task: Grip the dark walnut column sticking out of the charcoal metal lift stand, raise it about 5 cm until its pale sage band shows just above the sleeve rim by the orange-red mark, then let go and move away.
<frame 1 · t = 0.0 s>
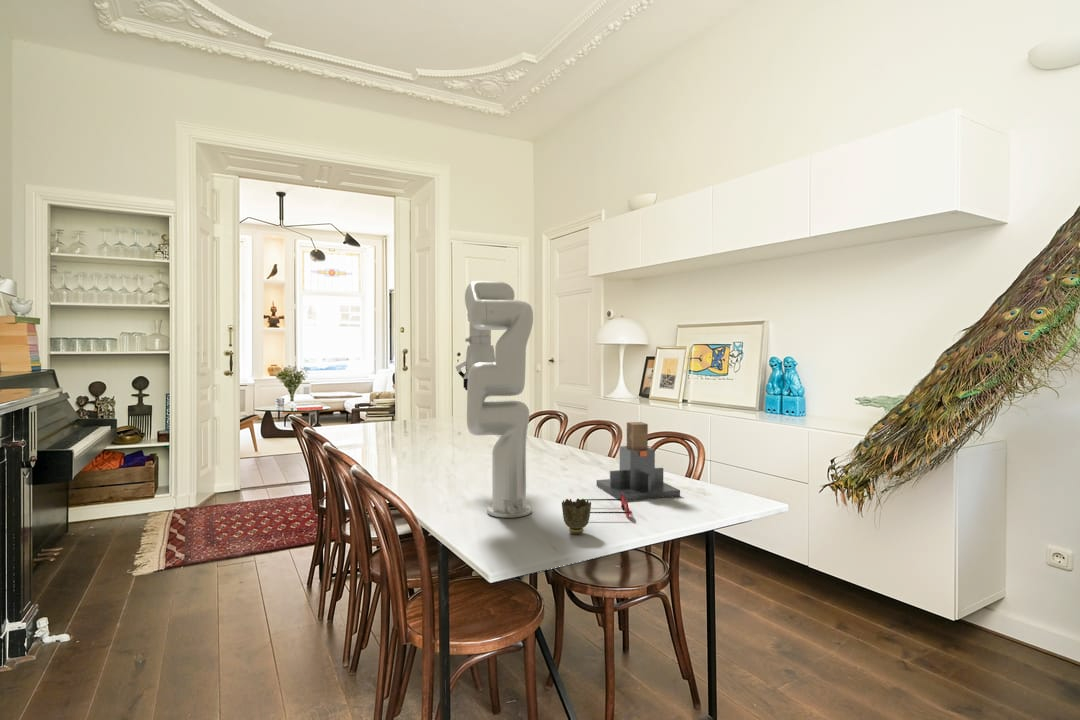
hand: (480, 389, 212), 31 cm above the table, tool pointing down, fingers open, 9 cm apart
column: (636, 452, 194), point 12 cm above the table, slide at 0.0 cm
lift stand: (636, 491, 194), on the table
cup: (576, 534, 151), on the table
glasses: (598, 515, 169), on the table
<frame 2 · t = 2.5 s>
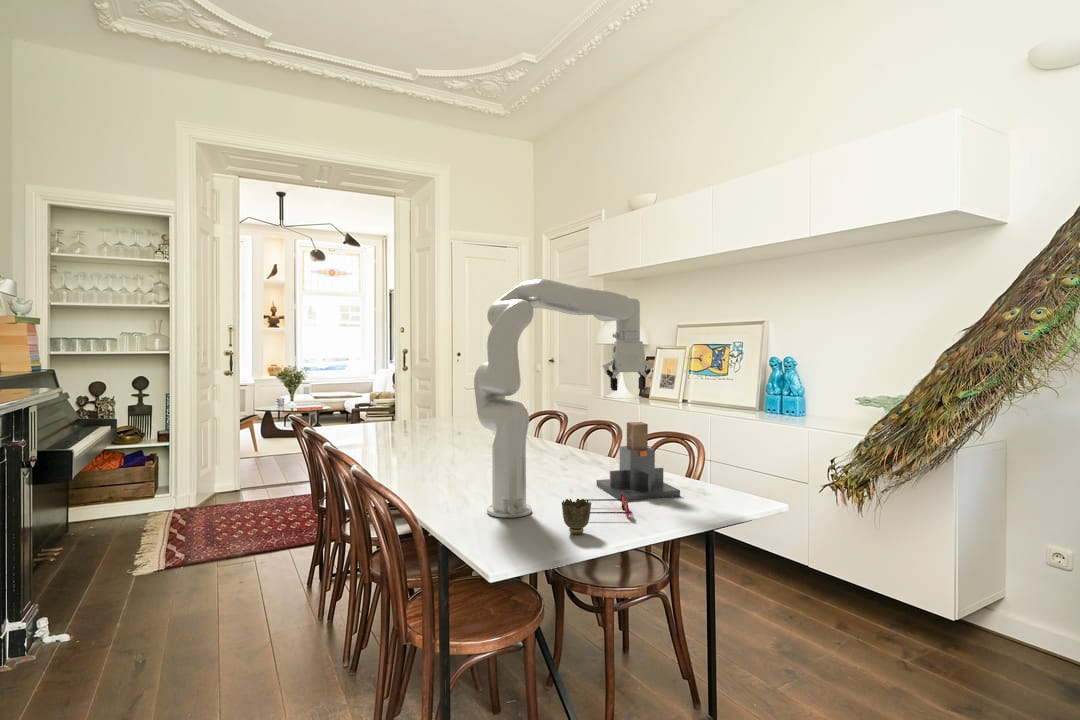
hand: (628, 390, 194), 33 cm above the table, tool pointing down, fingers open, 9 cm apart
nothing on the table moved.
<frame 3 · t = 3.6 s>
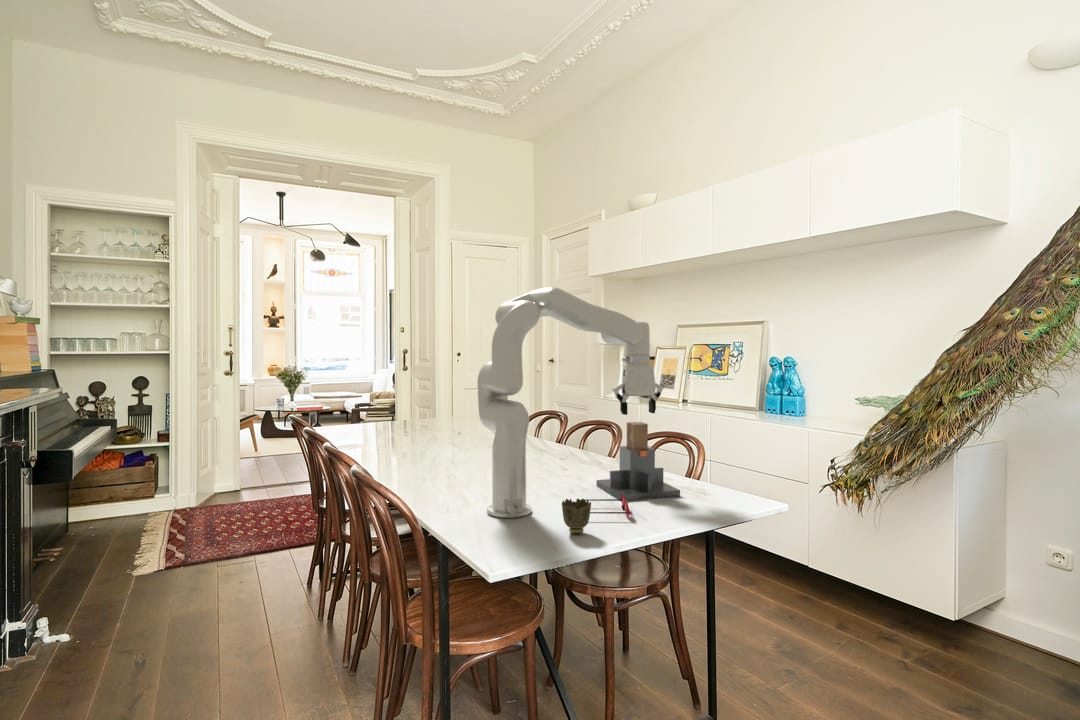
hand: (638, 413, 193), 25 cm above the table, tool pointing down, fingers open, 9 cm apart
nothing on the table moved.
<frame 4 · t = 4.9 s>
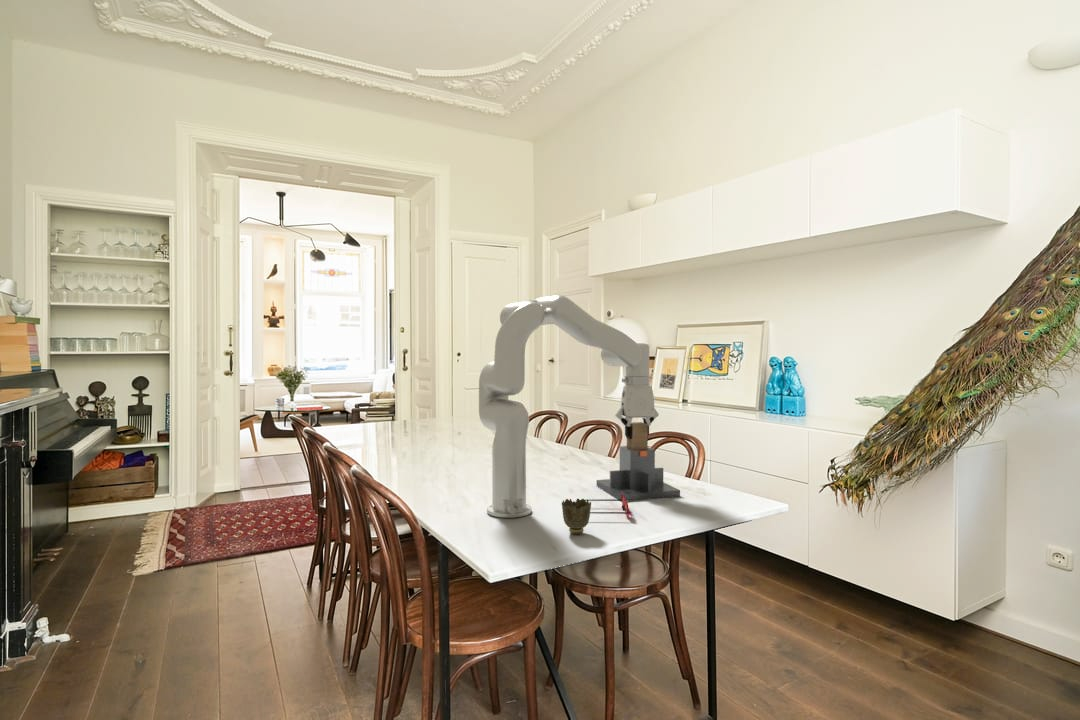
hand: (637, 437, 193), 17 cm above the table, tool pointing down, fingers closed on column, 5 cm apart
column: (636, 452, 194), point 12 cm above the table, slide at 0.0 cm, touching gripper
everything else where it was.
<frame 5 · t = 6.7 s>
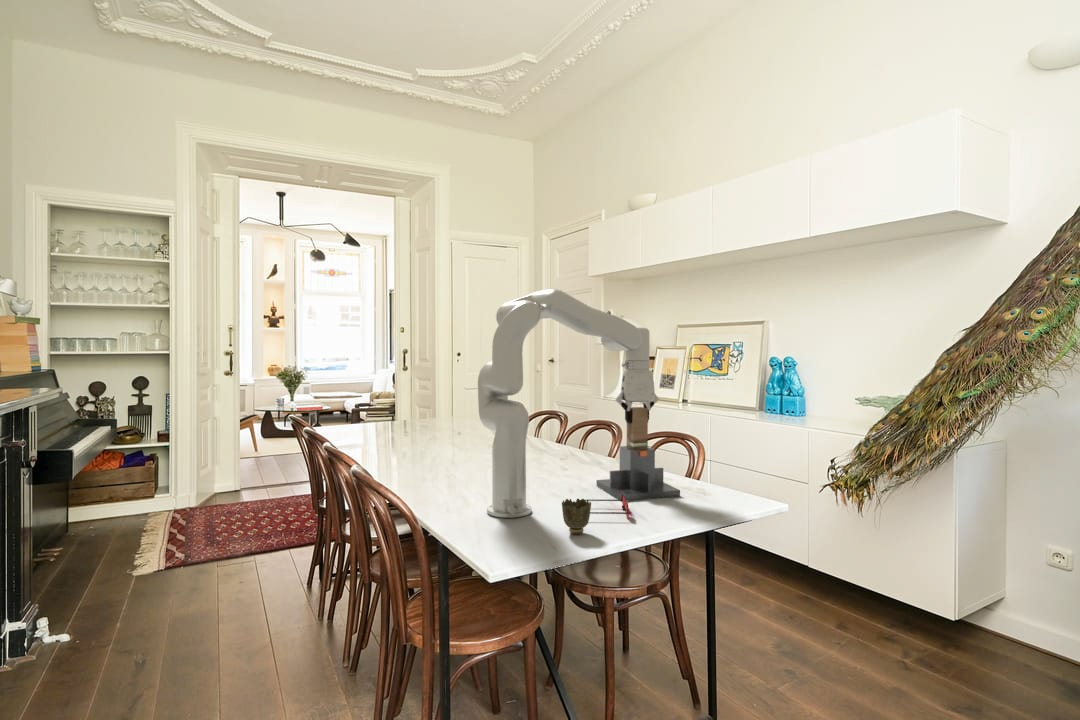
hand: (637, 422, 193), 22 cm above the table, tool pointing down, fingers closed on column, 5 cm apart
column: (637, 437, 193), point 17 cm above the table, slide at 4.9 cm, touching gripper
everything else where it was.
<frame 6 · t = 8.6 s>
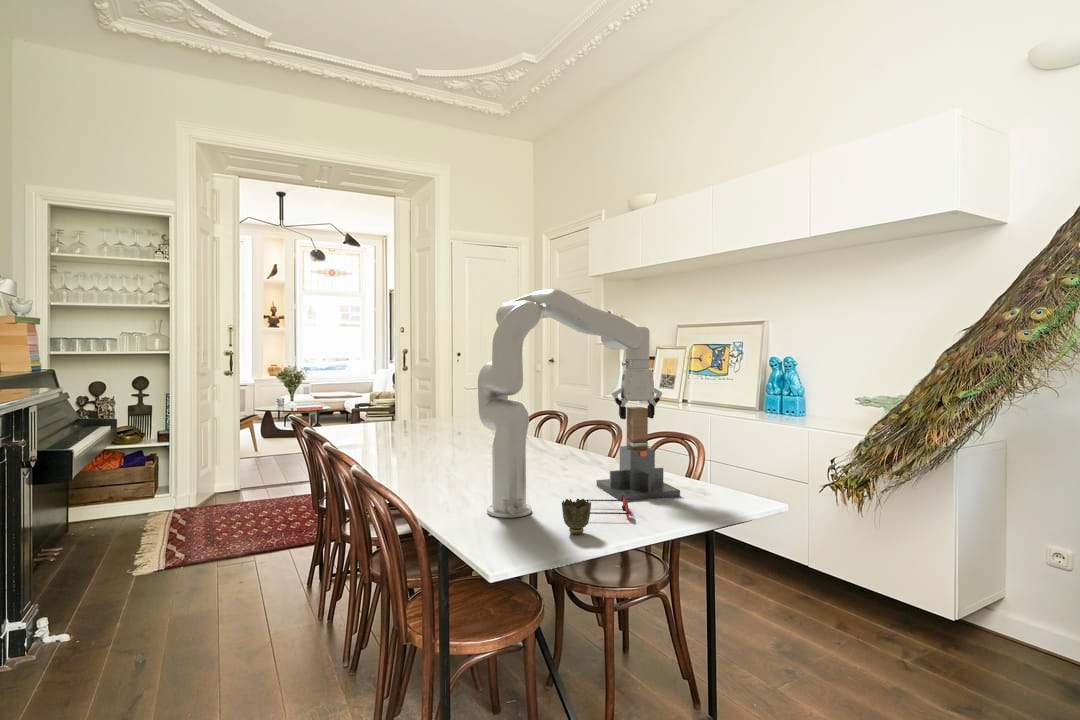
hand: (636, 418, 193), 24 cm above the table, tool pointing down, fingers open, 9 cm apart
column: (637, 437, 193), point 17 cm above the table, slide at 5.0 cm
everything else where it was.
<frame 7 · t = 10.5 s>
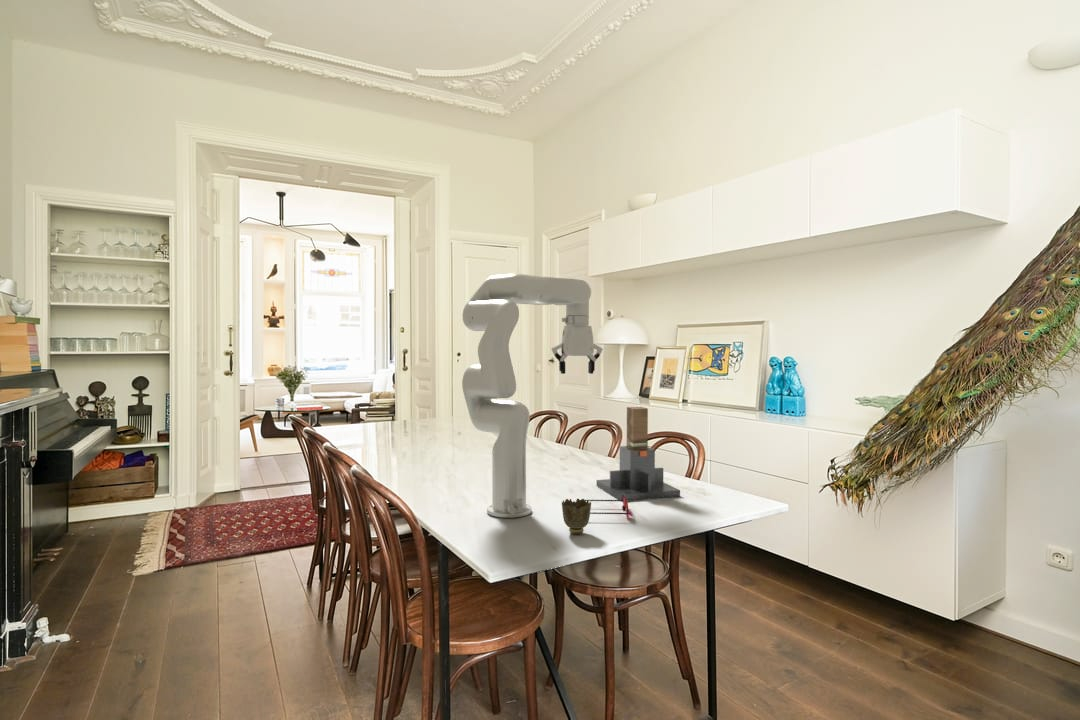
hand: (576, 373, 199), 38 cm above the table, tool pointing down, fingers open, 9 cm apart
nothing on the table moved.
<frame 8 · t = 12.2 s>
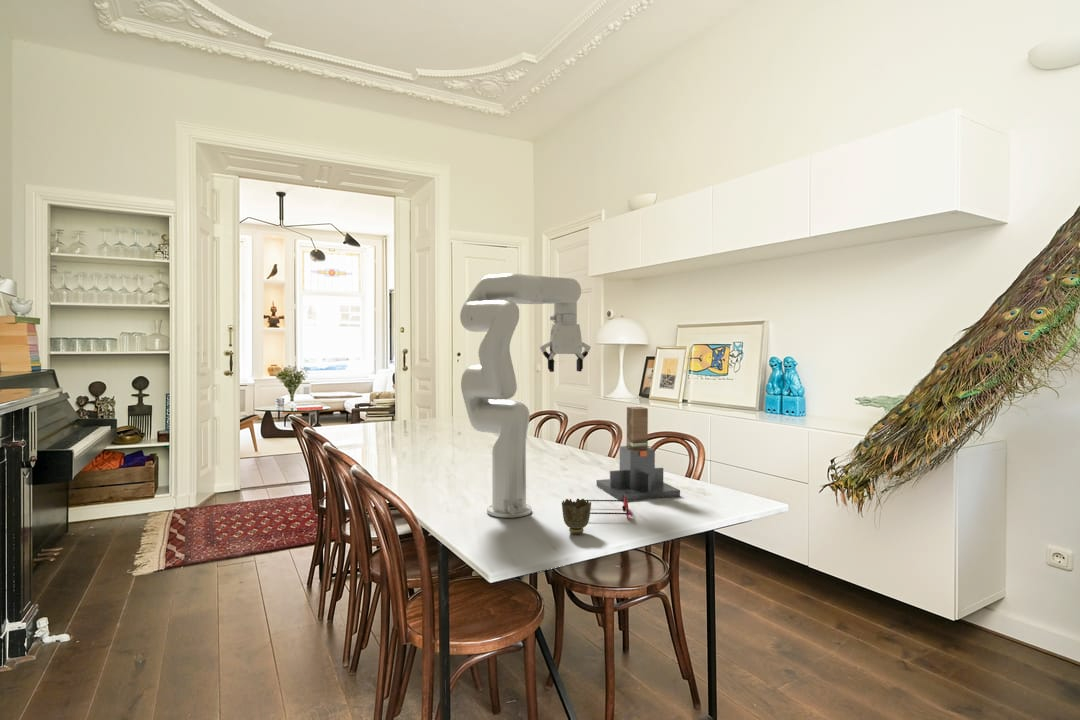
hand: (565, 371, 200), 38 cm above the table, tool pointing down, fingers open, 9 cm apart
nothing on the table moved.
at the end: column slide at 5.0 cm; the gripper is holding nothing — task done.
